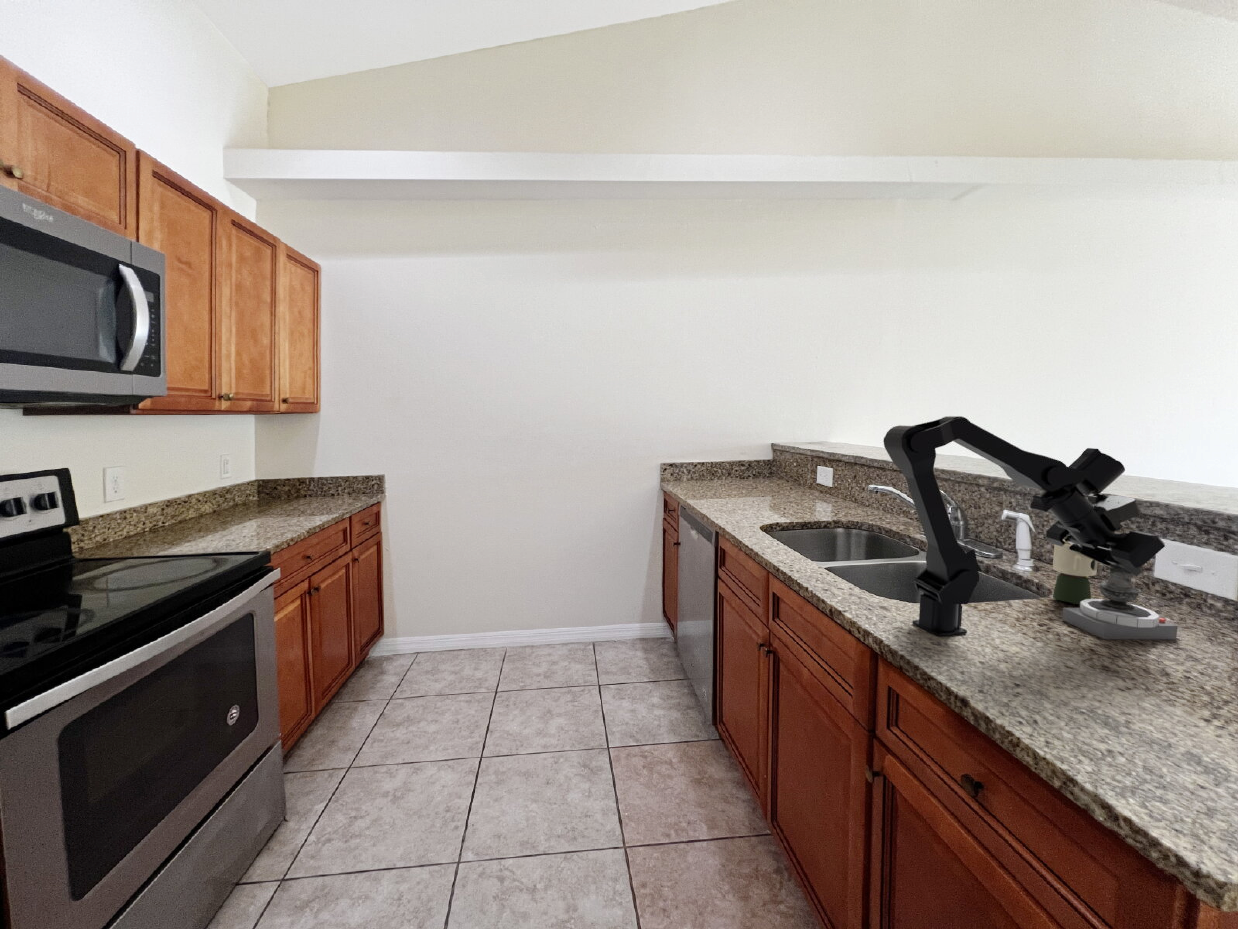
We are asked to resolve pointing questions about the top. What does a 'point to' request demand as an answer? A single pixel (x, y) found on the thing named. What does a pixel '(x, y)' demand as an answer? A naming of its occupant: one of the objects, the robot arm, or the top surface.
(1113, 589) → the grey stone finial
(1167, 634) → the faceted bowl on plate
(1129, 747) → the top surface
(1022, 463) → the robot arm
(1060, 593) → the character mug
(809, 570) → the top surface
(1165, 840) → the top surface
